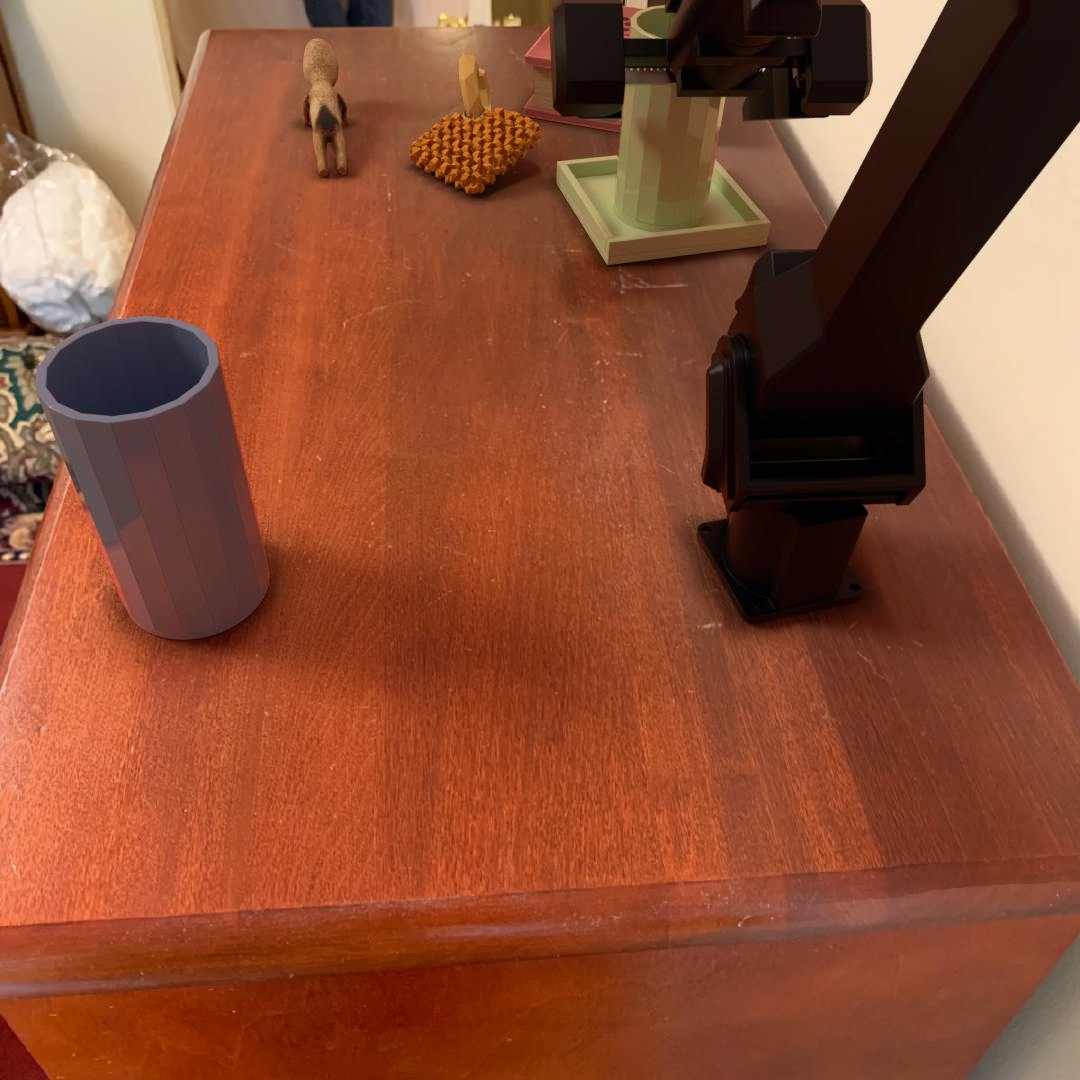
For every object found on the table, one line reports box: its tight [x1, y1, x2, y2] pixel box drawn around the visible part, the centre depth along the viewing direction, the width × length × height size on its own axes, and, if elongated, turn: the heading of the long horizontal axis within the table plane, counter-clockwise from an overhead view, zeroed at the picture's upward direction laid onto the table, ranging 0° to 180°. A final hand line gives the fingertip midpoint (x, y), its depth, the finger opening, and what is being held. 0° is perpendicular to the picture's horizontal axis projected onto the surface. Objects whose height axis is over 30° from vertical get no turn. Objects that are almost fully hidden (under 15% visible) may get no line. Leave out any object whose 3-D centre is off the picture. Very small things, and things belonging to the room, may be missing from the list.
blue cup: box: [34, 315, 271, 641], centre depth 44 cm, size 7×7×13 cm
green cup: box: [613, 4, 726, 232], centre depth 70 cm, size 7×7×13 cm
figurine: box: [301, 37, 349, 178], centre depth 81 cm, size 4×4×15 cm
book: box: [522, 5, 644, 133], centre depth 88 cm, size 14×15×5 cm
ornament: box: [408, 52, 543, 195], centre depth 79 cm, size 7×10×15 cm
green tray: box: [555, 154, 772, 266], centre depth 75 cm, size 12×12×2 cm
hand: (678, 113), depth 68 cm, fingers open, 9 cm apart
